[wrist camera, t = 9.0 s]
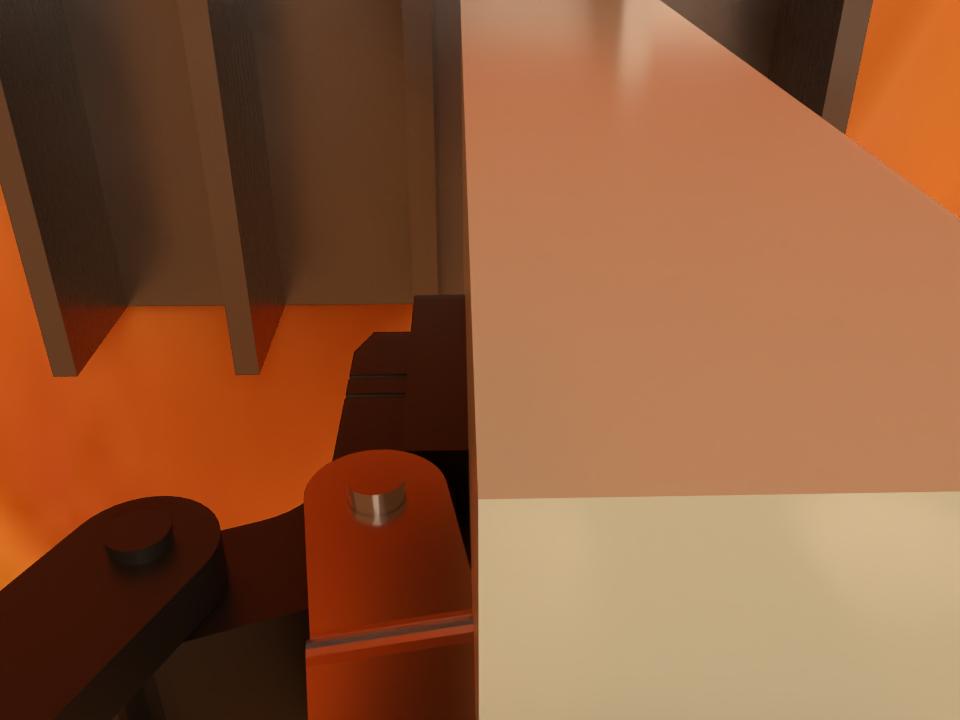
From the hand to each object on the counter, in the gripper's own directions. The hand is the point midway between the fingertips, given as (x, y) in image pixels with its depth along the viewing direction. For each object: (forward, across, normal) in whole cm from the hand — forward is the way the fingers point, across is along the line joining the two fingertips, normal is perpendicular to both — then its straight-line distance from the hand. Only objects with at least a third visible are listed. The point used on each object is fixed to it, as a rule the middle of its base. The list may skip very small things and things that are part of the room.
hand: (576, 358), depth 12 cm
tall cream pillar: (+4, 0, 0) cm, 4 cm away
